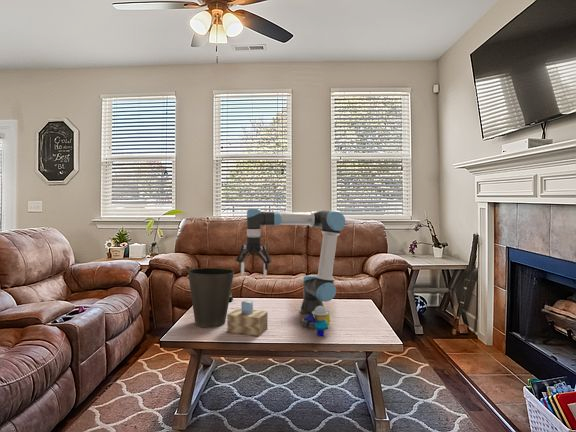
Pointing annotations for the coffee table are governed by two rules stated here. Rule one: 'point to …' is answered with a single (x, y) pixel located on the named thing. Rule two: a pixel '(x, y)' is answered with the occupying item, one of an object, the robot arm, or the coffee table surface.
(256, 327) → the box
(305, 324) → the toy
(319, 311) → the toy
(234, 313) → the lid
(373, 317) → the coffee table surface
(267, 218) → the robot arm
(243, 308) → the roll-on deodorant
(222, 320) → the waste basket
